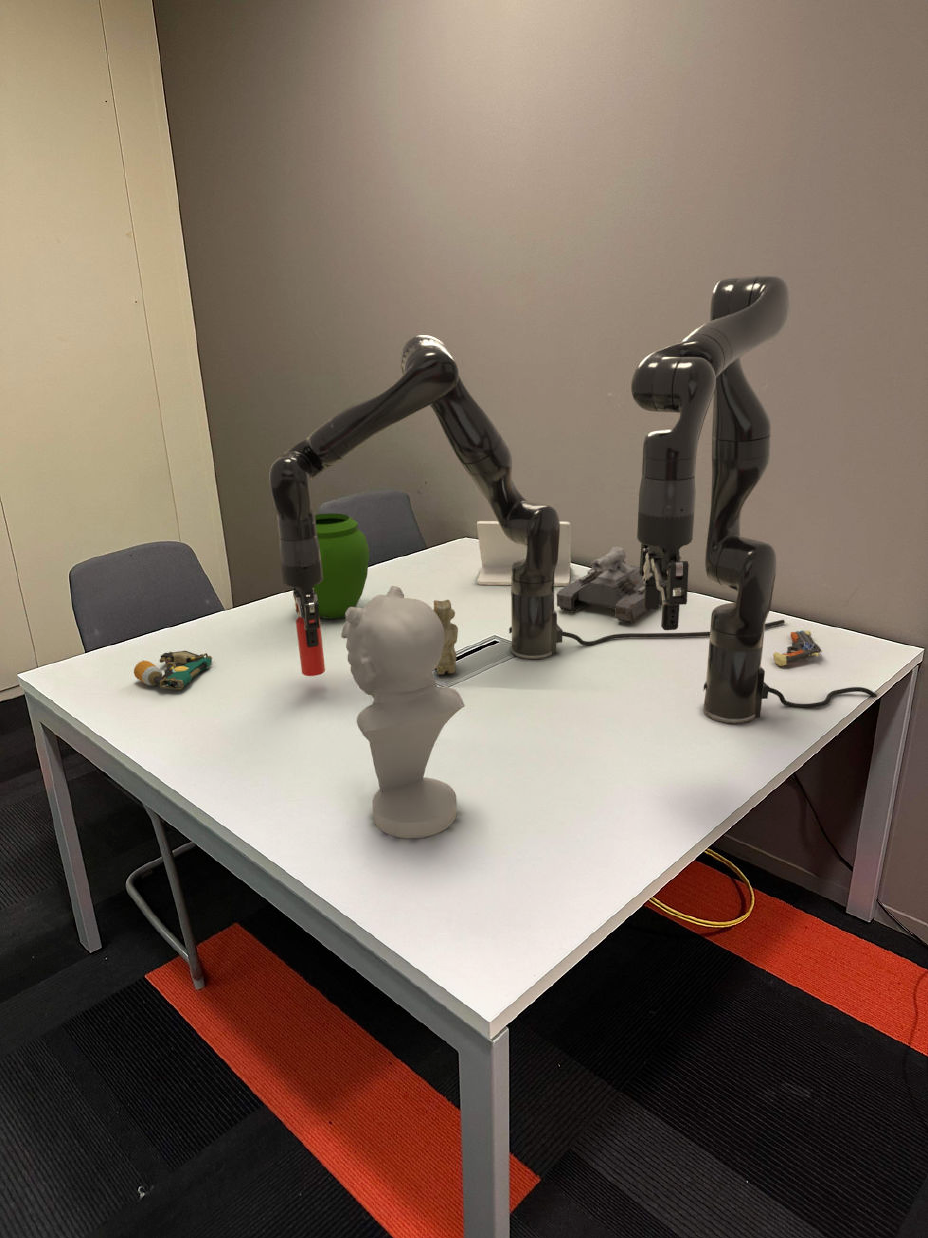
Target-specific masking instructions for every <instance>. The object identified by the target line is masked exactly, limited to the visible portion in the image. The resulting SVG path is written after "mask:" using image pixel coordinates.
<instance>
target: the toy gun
mask: <svg viewBox="0 0 928 1238" xmlns="http://www.w3.org/2000/svg"><path fill="white" fill-rule="evenodd" d="M790 638H791V641H792V642H791V645H790V646H787V647H786V649H787V651H786V653H780V652H777V651H775V652H773V653H772V656H773V660H774V662H775V664H776V665H778V666H780V667H781V666H782V667H783V666H786V665H790V664H795V663H797V662H800V661H804V660H807V659H810V658H811V657H815V656H816V657H819V656H820V654H821V653H823V650H822V649H821V647H820V645H818V644H817V643H816V642H815V641H814V640H813V638H812V632H811V630H800V631H799V630H796V631H791V632H790Z"/></svg>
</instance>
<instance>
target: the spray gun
mask: <svg viewBox="0 0 928 1238" xmlns="http://www.w3.org/2000/svg"><path fill="white" fill-rule="evenodd" d="M212 660H213V657H212V656H211V655H208V653H207V652H205V653H201V654H197V653H194V652H192V651H191V652H190V651H188V650H180V651H169V652H164V653H162V654H161V655H160V658H159V660H158V662H159V663H161V664H163V663H165V664H166V668H165V670H163V672H164V674H163V673H162V669H160V668H159V666H157V665H156V664H154V663H152V662H151V661H149V660H141V661H139V662H138V663H136V665H135V666H134V668H133V675H134V677H135V678H136V679H137V680H139V681H140V682H142V683H143V684H145V685H147V686H155V685H157V686H158V687H160V688H161V689H171V690H172V689H173V690H182V689H184V687H185V686H186V685H188V684H189V683H190V682H191V681H192V679H193V678H195V677H196V676H197V675H198V674H200V673H201V672H202V671H203V670H206V669H208V668H209V667H210V666H211V665H212V662H213V661H212ZM178 663H179V664H181V665H179V666H176V665H177V664H178Z"/></svg>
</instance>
